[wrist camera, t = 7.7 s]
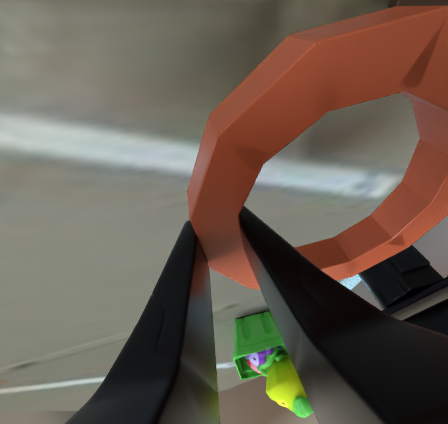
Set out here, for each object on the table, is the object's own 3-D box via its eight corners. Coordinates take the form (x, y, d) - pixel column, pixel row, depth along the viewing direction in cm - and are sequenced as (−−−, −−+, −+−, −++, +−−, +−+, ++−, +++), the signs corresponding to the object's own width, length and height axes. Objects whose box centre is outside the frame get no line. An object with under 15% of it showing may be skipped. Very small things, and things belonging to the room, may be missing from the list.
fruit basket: (224, 317, 31) (244, 428, 23) (287, 302, 32) (328, 406, 23) (234, 344, 39) (251, 435, 31) (284, 332, 39) (315, 419, 31)
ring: (402, 235, 13) (425, 257, 12) (222, 283, 13) (227, 309, 12) (543, -34, 6) (635, -45, 5) (141, 73, 6) (133, 88, 5)
